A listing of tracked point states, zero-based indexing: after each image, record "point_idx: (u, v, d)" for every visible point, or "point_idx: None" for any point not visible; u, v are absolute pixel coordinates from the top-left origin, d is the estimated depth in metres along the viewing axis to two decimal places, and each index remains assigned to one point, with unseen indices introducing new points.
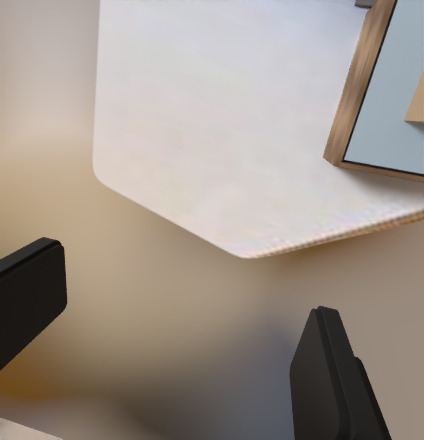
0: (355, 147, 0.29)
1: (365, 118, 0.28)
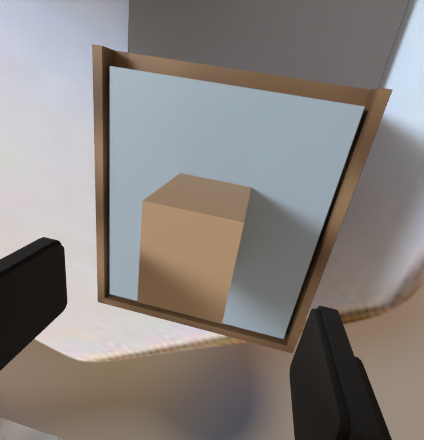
0: (118, 280, 0.19)
1: (119, 243, 0.18)
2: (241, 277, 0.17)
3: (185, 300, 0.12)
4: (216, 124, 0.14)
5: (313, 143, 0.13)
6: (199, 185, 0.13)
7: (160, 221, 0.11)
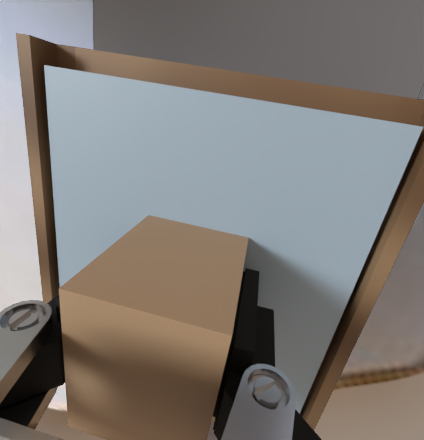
0: None
1: None
2: None
3: (140, 434, 0.07)
4: (197, 150, 0.09)
5: (340, 179, 0.09)
6: (170, 240, 0.09)
7: (92, 322, 0.06)
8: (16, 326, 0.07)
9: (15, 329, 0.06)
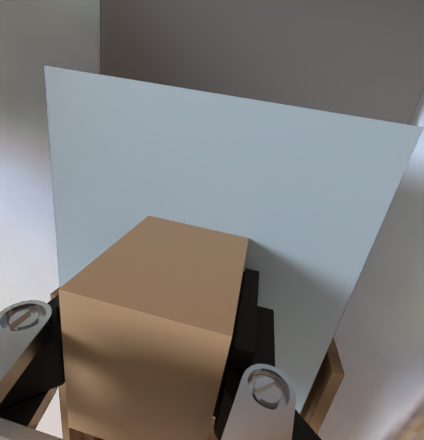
0: None
1: None
2: None
3: (140, 434, 0.07)
4: (197, 150, 0.09)
5: (340, 180, 0.09)
6: (170, 241, 0.09)
7: (91, 323, 0.06)
8: (16, 326, 0.07)
9: (15, 329, 0.06)
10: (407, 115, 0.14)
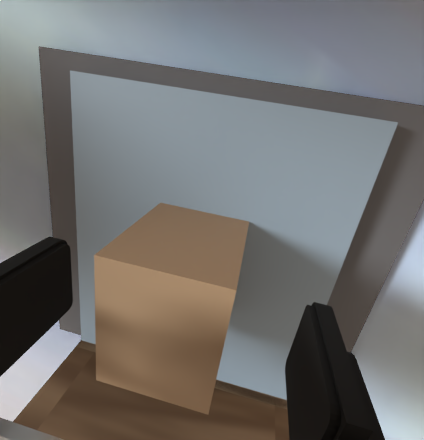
0: (91, 324, 0.16)
1: (90, 283, 0.15)
2: (237, 328, 0.14)
3: (158, 383, 0.09)
4: (204, 144, 0.11)
5: (328, 169, 0.10)
6: (181, 222, 0.10)
7: (120, 283, 0.08)
8: None
9: None
10: (392, 252, 0.12)
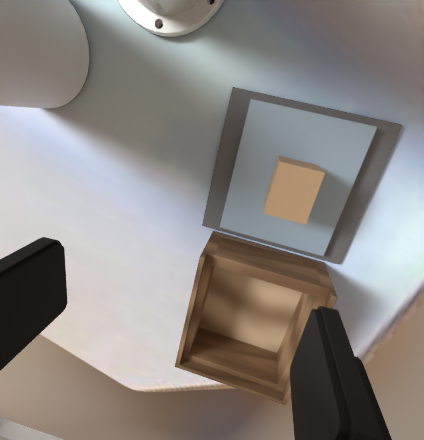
0: (227, 218, 0.32)
1: (233, 194, 0.31)
2: None
3: (289, 212, 0.25)
4: (302, 131, 0.27)
5: (350, 143, 0.27)
6: (293, 160, 0.27)
7: (286, 171, 0.24)
8: None
9: None
10: (374, 181, 0.28)
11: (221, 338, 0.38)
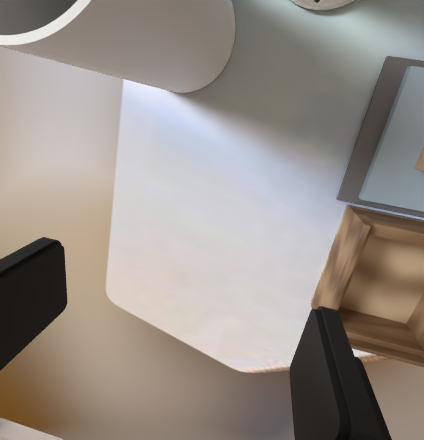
0: (371, 189, 0.32)
1: (380, 165, 0.31)
2: None
3: None
4: None
5: None
6: None
7: None
8: None
9: None
10: None
11: (349, 312, 0.38)
